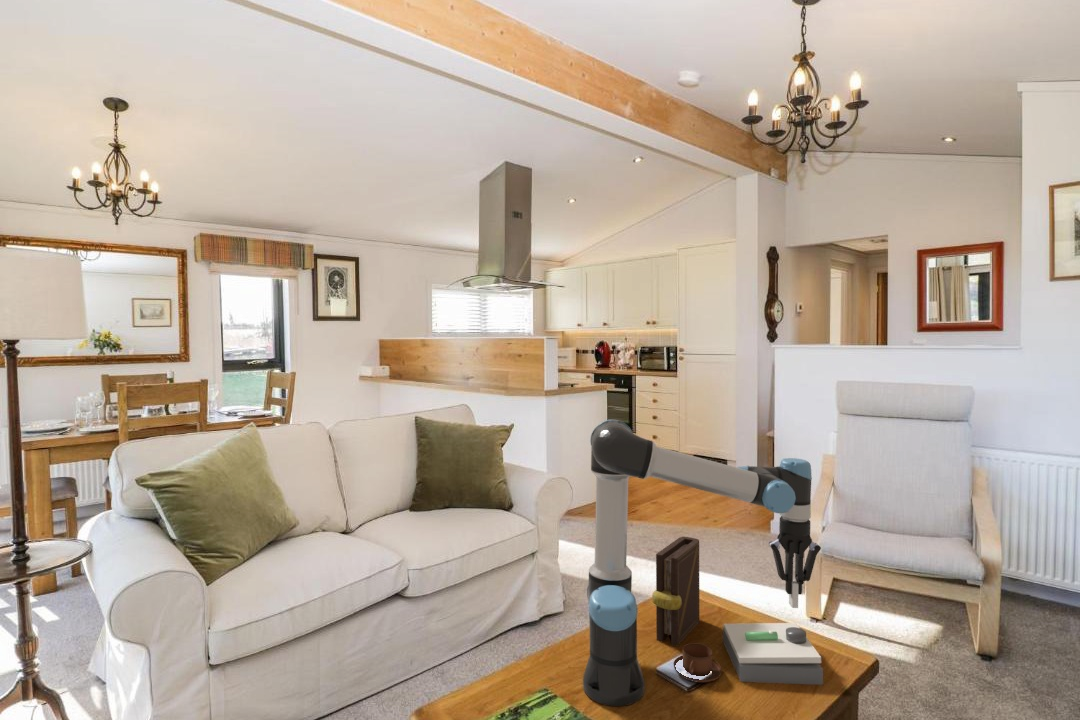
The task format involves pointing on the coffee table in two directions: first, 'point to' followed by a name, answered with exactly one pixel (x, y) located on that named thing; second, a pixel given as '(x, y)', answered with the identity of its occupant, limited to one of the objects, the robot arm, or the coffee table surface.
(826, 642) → the coffee table surface
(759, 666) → the level base
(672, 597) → the book
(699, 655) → the cup and saucer
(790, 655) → the level plate
